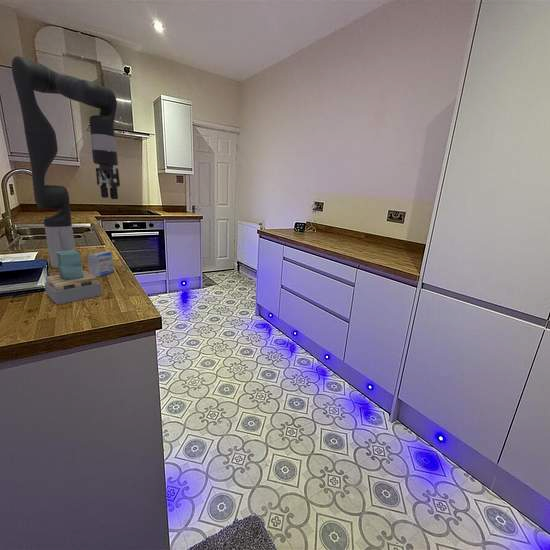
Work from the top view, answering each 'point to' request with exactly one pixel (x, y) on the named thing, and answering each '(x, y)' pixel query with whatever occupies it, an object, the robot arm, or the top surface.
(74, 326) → the top surface
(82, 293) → the platform
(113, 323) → the top surface
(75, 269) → the teal upright block
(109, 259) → the medicine box
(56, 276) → the pallet
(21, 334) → the top surface
